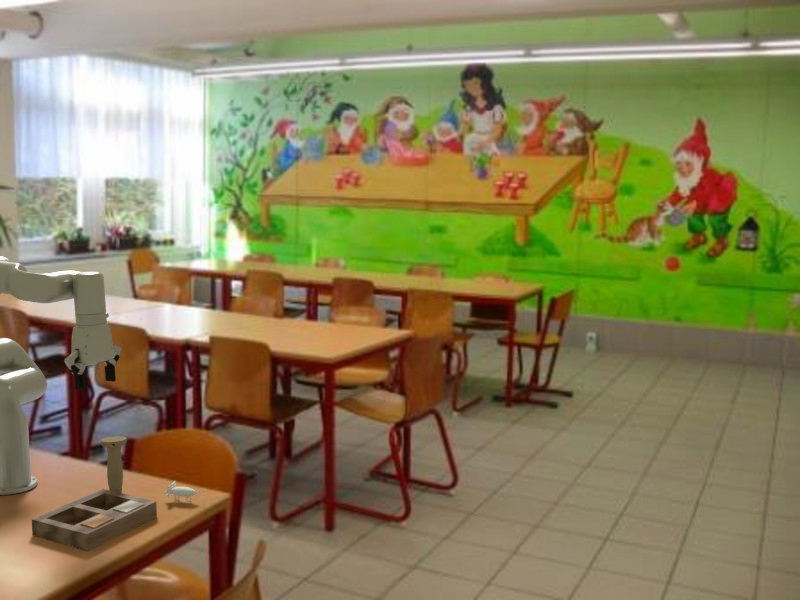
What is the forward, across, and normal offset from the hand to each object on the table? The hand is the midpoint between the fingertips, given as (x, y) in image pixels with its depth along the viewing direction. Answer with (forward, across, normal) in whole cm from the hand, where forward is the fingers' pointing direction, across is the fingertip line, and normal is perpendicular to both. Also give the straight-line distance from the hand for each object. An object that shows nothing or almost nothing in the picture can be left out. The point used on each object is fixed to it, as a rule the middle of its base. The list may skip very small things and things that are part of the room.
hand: (96, 384), depth 213 cm
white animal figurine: (+32, -9, +20) cm, 39 cm away
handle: (+31, -4, 0) cm, 31 cm away
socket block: (+31, +13, +12) cm, 36 cm away
